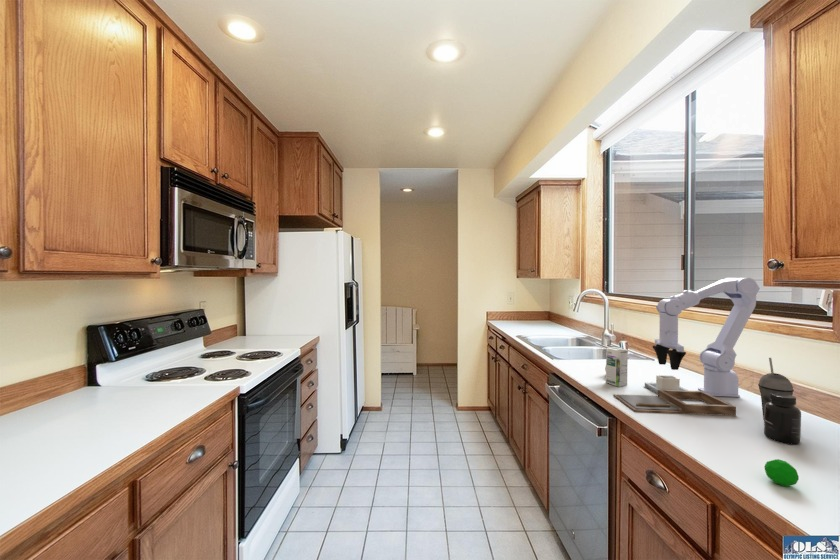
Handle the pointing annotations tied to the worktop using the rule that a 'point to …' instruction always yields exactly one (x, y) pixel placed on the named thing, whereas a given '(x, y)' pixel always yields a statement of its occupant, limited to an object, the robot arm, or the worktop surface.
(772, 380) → the beverage cup
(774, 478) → the green rounded piece
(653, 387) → the tray
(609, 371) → the syrup box
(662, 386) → the block
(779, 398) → the supplement bottle
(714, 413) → the open case
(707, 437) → the worktop surface
